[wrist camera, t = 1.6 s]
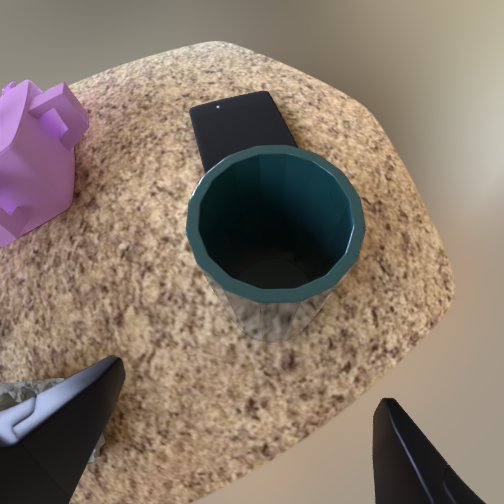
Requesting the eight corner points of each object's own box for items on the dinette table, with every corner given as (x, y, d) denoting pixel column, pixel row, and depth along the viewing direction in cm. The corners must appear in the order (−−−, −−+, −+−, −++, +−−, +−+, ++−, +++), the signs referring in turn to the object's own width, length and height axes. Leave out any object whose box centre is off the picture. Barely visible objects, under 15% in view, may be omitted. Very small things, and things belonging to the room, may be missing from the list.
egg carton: (27, 460, 18) (0, 465, 15) (11, 386, 21) (-18, 383, 17) (115, 463, 19) (90, 474, 15) (93, 376, 22) (65, 373, 18)
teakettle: (39, 272, 26) (-49, 213, 14) (-27, 225, 29) (-86, 177, 17) (121, 137, 31) (78, 51, 20) (39, 123, 34) (-1, 64, 23)
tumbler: (273, 361, 22) (281, 344, 10) (209, 298, 24) (152, 218, 12) (334, 295, 24) (395, 212, 12) (270, 239, 26) (270, 122, 14)
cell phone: (229, 262, 25) (228, 258, 24) (189, 113, 32) (188, 107, 31) (334, 232, 25) (336, 227, 25) (267, 95, 32) (267, 89, 31)
